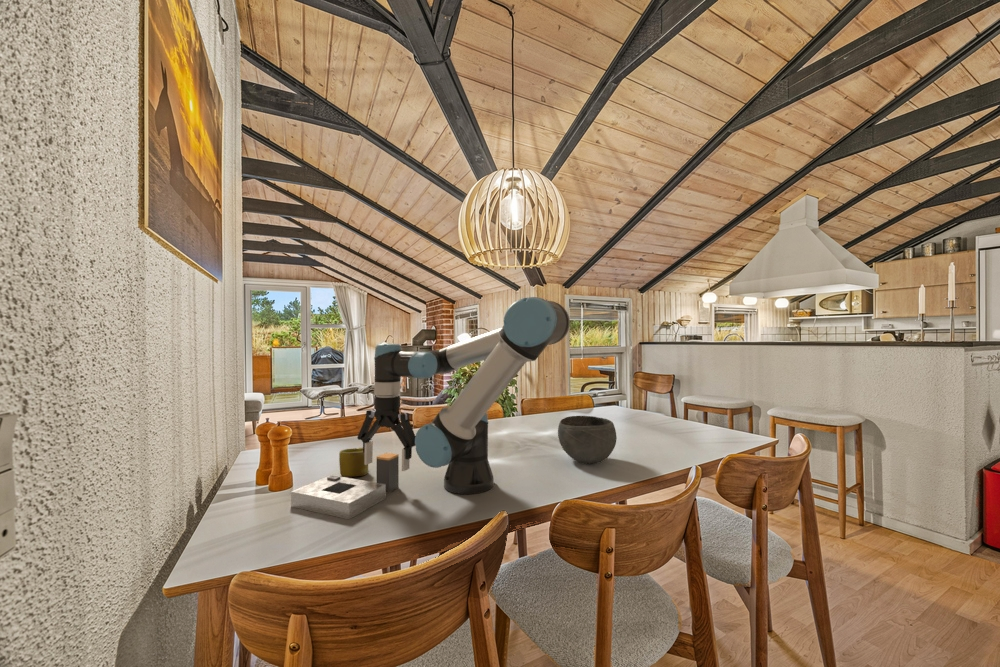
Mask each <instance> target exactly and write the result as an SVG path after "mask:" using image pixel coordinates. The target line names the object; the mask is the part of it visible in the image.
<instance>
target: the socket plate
mask: <svg viewBox="0 0 1000 667" xmlns="http://www.w3.org/2000/svg"><path fill="white" fill-rule="evenodd" d="M386 495H387V492H386V484H381V483H377V482H374V481H369V480H362V479H356V478H352V477H342V476H340V475H334V474H330V475H328V476H325V477H323V478H320V479H318V480H316V481H313V482H311V483H308V484H306V485H303V486H301V487H299V488H297V489H294V490H291V491H290V507H291V508H294V509H295V508H296V509H299V510H300V509H302V510H306V511H310V512H314V513H319V514H323V515H328V516H332V517H335V518H336V517H338V518H341V519H346V520H351V519H352V518H354V517H356V516H358V515H359V514H361V513H363V512H364V511H366V510H368V509H370V508H372V507H373V506H375V505H377V504H379V503H380V502H382V501H384V500H386V499H387V498H386Z"/></svg>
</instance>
